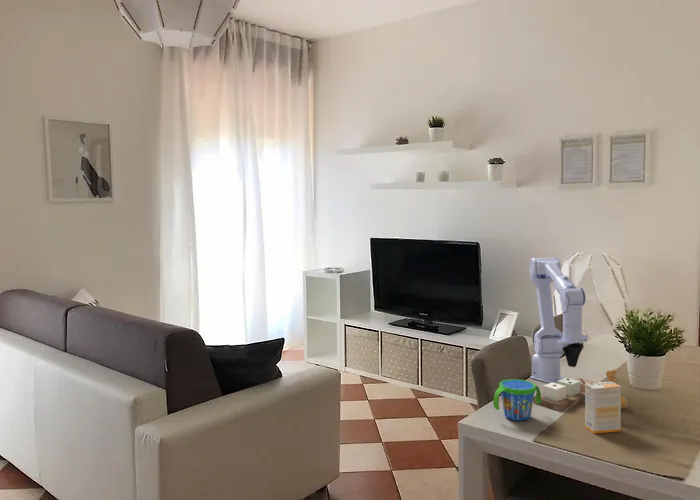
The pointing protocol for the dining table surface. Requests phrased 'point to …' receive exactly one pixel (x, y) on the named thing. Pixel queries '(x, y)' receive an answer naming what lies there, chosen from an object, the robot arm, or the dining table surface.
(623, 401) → the figurine
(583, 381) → the tile three
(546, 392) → the tile one
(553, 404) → the tile board
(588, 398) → the supplement box
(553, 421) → the dining table surface
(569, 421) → the dining table surface
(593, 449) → the dining table surface
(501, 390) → the snack cup
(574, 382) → the tile two
